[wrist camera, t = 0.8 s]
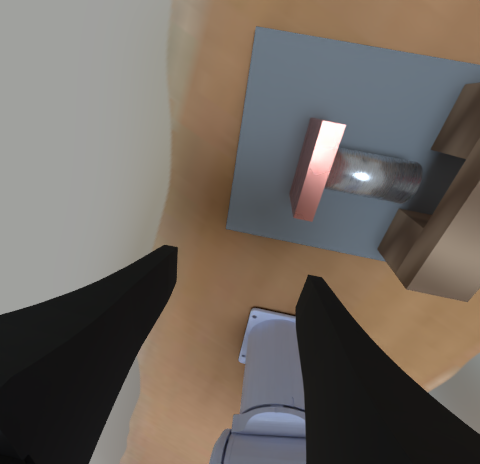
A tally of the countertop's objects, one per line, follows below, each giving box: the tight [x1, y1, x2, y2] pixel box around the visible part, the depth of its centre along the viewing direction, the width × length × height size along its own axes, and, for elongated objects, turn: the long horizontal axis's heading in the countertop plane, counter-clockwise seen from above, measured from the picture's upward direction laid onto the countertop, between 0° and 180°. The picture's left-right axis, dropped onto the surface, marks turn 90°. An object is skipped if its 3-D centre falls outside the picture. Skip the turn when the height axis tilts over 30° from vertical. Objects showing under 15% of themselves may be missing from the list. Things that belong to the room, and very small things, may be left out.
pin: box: [289, 117, 423, 222], centre depth 15 cm, size 7×6×4 cm
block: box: [377, 83, 480, 302], centre depth 15 cm, size 12×4×5 cm, turn 171°
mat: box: [226, 26, 480, 261], centre depth 17 cm, size 14×20×1 cm
